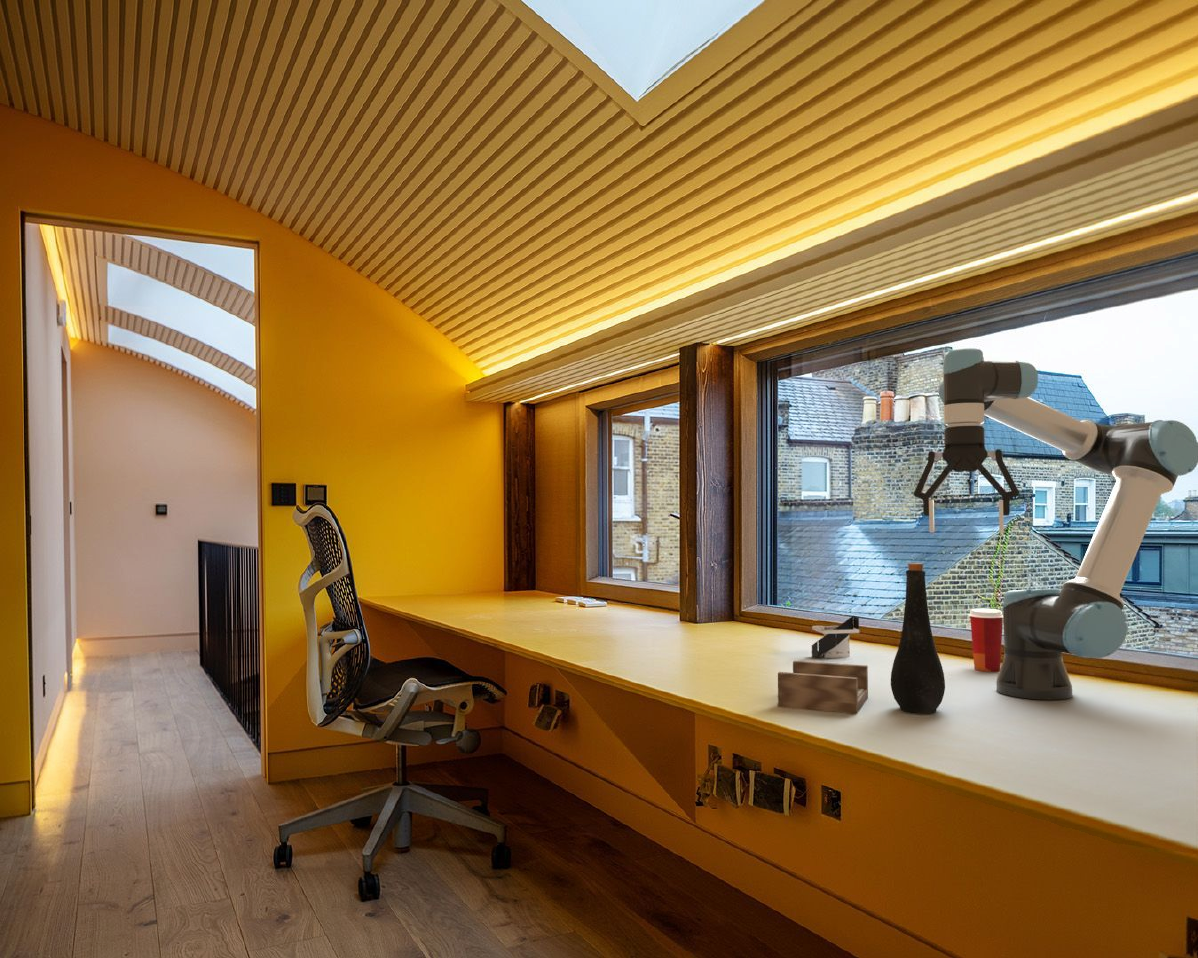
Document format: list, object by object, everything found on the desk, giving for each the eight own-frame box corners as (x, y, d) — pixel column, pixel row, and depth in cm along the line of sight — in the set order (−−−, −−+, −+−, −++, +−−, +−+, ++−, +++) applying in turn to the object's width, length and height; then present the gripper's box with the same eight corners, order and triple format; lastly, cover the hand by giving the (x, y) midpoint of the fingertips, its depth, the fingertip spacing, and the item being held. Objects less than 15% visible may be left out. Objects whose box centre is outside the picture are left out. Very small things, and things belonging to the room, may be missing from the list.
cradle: (868, 697, 193) (867, 665, 193) (856, 713, 178) (856, 678, 178) (794, 691, 199) (794, 660, 199) (778, 706, 185) (777, 673, 185)
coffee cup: (1007, 668, 225) (1006, 609, 225) (1002, 673, 218) (1001, 612, 218) (972, 665, 230) (971, 607, 230) (966, 670, 223) (965, 610, 223)
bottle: (950, 717, 174) (947, 565, 175) (894, 715, 177) (891, 565, 177) (940, 705, 185) (938, 562, 186) (887, 703, 187) (885, 561, 188)
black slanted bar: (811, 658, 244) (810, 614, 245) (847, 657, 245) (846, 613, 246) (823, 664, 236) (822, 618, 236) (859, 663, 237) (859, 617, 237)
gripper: (1031, 424, 177) (1033, 532, 176) (902, 430, 187) (904, 531, 186) (1031, 421, 170) (1034, 533, 169) (898, 427, 180) (900, 532, 180)
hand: (966, 532), depth 178 cm, fingers open, 12 cm apart
